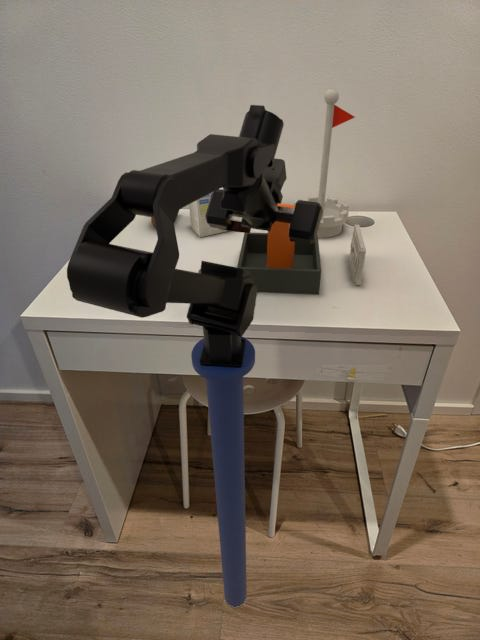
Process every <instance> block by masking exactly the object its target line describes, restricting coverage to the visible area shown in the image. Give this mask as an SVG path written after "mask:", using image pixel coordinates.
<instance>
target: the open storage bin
mask: <svg viewBox="0 0 480 640" xmlns="http://www.w3.org/2000/svg"><path fill="white" fill-rule="evenodd" d="M267 244H268V232H250V233H243V239H242V242H241V247H240V252H239V256H238V262H237V266H236V268H240V269H245V270H250V271H251V273H250V276H252V277H253V279H254V283H253V284H255V285H256V286H257V293H272V294H294V295H295V294H296V295H297V294H298V295H320V290H321V289H320V288H321V279H322V264H321V263H322V261H321V253H320V243H319V238H318V234H317V236H316V240H315V242H313V243H312V244H308V243H299V242H295V250H294V265H293V268H292V269H289V268H267Z"/></svg>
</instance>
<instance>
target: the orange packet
mask: <svg viewBox="0 0 480 640" xmlns="http://www.w3.org/2000/svg"><path fill="white" fill-rule="evenodd" d="M277 206H281V207H288V208H295V205H294V204H287V203H281V204H280V203H278V205H277ZM282 213H283V212H282ZM289 214H290V213H289ZM289 228H290V223H284V222H277V221H275V222H274V224H272V227H271V231H267V233H268V244H267V268H289V269H292V268H293V265H294V250H295V242H293V241H290V238H289Z"/></svg>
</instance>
